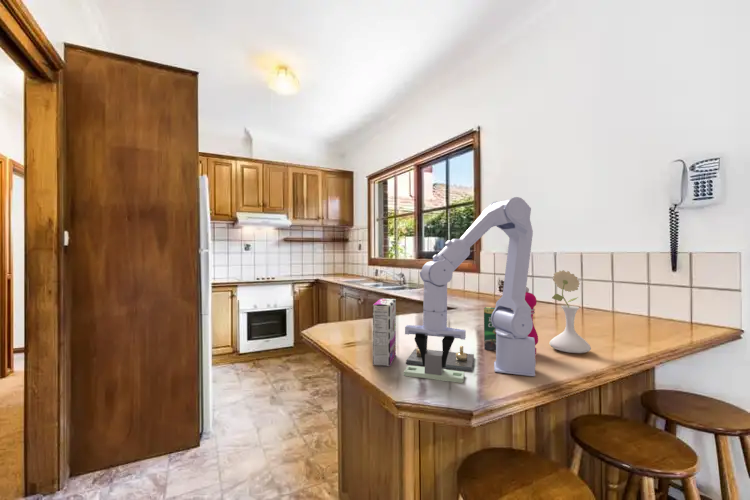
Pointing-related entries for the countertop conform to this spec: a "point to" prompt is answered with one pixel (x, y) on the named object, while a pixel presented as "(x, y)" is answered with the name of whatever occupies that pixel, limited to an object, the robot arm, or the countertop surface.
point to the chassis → (453, 360)
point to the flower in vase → (568, 317)
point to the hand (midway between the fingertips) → (434, 365)
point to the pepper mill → (531, 302)
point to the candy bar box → (384, 332)
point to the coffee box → (489, 330)
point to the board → (437, 377)
